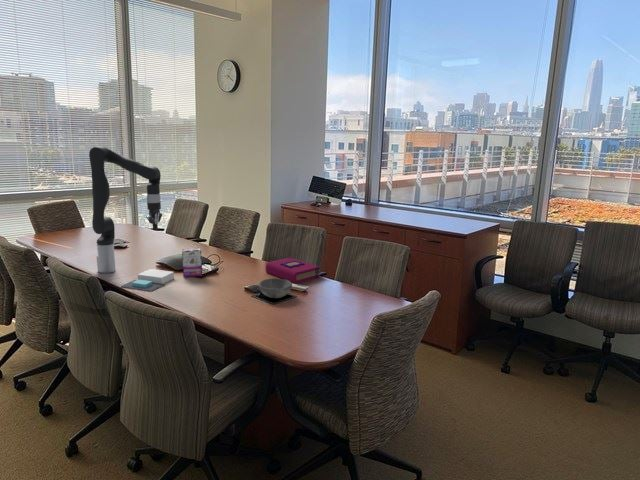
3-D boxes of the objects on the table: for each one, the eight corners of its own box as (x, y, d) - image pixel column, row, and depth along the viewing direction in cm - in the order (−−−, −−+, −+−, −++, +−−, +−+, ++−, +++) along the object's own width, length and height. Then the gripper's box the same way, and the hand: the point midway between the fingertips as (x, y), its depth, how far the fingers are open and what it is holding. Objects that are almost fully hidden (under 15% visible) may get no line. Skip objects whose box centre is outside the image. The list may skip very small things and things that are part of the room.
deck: (138, 281, 276) (137, 274, 275) (150, 275, 287) (150, 268, 286) (161, 284, 272) (161, 277, 271) (174, 278, 283) (173, 271, 282)
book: (294, 284, 280) (295, 272, 278) (265, 273, 300) (265, 261, 298) (320, 277, 295) (320, 265, 293) (290, 267, 314) (290, 256, 312)
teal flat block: (138, 279, 271) (138, 282, 272) (131, 282, 266) (132, 285, 266) (152, 281, 269) (152, 284, 269) (145, 284, 263) (145, 288, 264)
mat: (120, 287, 265) (120, 286, 265) (134, 280, 276) (134, 279, 276) (151, 291, 260) (151, 290, 260) (164, 285, 271) (164, 284, 271)
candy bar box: (202, 273, 293) (201, 248, 289) (202, 276, 289) (201, 250, 285) (183, 274, 290) (182, 248, 286) (183, 277, 286) (182, 250, 282)
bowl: (255, 292, 264) (255, 278, 262) (285, 289, 270) (286, 276, 268) (263, 303, 248) (263, 289, 246) (295, 300, 254) (295, 286, 252)
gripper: (155, 199, 289) (156, 227, 293) (141, 202, 276) (142, 231, 280) (166, 200, 287) (167, 228, 291) (152, 203, 274) (153, 232, 278)
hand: (155, 230), depth 285 cm, fingers closed
